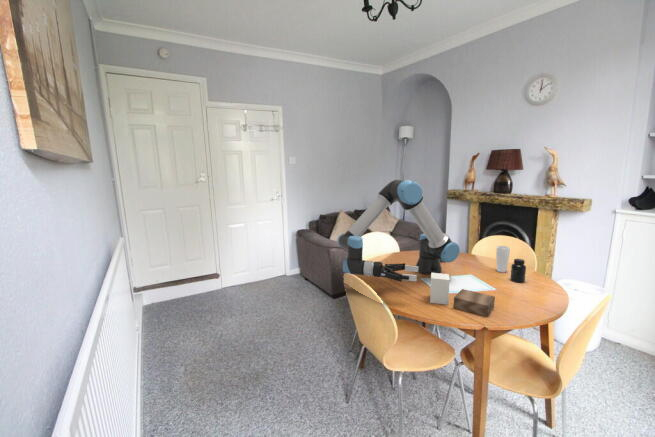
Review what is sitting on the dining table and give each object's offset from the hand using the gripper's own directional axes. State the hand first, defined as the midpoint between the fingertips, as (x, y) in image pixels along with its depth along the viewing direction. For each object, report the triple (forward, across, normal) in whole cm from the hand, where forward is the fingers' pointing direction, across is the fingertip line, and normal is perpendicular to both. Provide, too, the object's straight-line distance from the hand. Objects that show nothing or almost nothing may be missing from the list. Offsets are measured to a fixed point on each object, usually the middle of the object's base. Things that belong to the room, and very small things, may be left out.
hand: (417, 273), depth 147 cm
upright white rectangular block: (+10, 0, -12) cm, 16 cm away
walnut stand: (+25, +3, -12) cm, 28 cm away
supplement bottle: (+51, -40, -12) cm, 66 cm away
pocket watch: (+13, -66, -12) cm, 68 cm away
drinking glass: (+46, -54, -11) cm, 72 cm away
